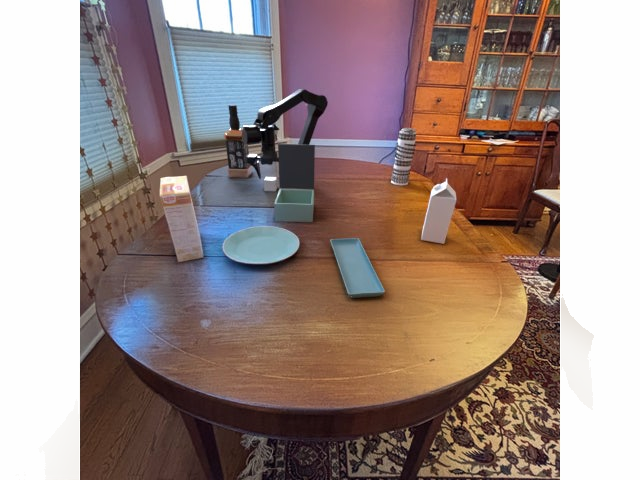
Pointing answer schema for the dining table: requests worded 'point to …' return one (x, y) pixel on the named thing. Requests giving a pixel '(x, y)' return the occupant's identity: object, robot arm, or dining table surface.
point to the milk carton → (439, 213)
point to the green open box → (294, 205)
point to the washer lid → (296, 166)
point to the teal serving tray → (356, 268)
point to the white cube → (270, 183)
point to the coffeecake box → (181, 217)
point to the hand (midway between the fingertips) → (270, 179)
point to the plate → (261, 245)
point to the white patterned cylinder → (403, 156)
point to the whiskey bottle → (236, 148)
